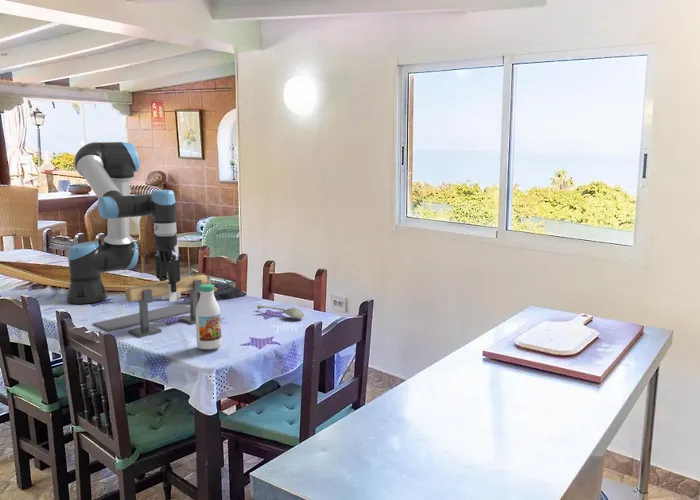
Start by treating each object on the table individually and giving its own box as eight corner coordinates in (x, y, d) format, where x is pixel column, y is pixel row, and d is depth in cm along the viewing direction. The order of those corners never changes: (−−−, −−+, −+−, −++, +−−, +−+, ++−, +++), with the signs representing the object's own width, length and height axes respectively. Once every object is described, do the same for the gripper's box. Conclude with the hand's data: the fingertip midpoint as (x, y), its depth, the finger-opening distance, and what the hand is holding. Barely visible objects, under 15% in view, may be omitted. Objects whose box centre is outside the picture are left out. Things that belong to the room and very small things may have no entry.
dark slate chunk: (225, 287, 276) (225, 277, 276) (248, 297, 259) (248, 286, 258) (194, 292, 267) (193, 282, 267) (215, 302, 250) (214, 291, 249)
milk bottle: (192, 348, 191) (189, 286, 188) (206, 341, 198) (203, 281, 195) (212, 351, 189) (210, 288, 185) (226, 343, 196) (223, 283, 192)
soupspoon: (295, 321, 223) (307, 317, 228) (295, 313, 222) (307, 309, 228) (252, 310, 236) (264, 306, 241) (252, 302, 235) (264, 298, 240)
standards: (128, 332, 208) (125, 289, 205) (197, 315, 228) (195, 276, 226) (140, 337, 203) (137, 292, 200) (210, 319, 223) (208, 279, 221)
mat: (92, 325, 217) (92, 323, 217) (180, 305, 243) (180, 303, 243) (108, 332, 209) (108, 329, 209) (197, 311, 235) (197, 309, 235)
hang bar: (126, 299, 204) (125, 288, 203) (201, 284, 226) (200, 274, 225) (132, 301, 201) (131, 290, 200) (207, 286, 223) (207, 275, 222)
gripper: (142, 233, 213) (146, 298, 217) (169, 238, 202) (173, 306, 206) (161, 231, 218) (165, 294, 222) (188, 235, 207) (192, 301, 211)
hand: (169, 299), depth 214 cm, fingers closed on hang bar, 4 cm apart
